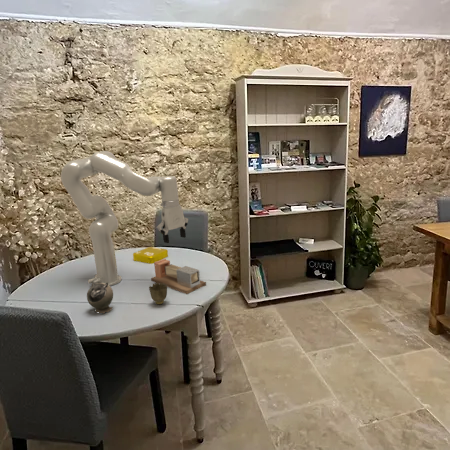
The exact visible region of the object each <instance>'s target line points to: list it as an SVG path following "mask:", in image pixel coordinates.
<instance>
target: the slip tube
mask: <svg viewBox="0 0 450 450" xmlns="http://www.w3.org/2000/svg"><path fill="white" fill-rule="evenodd" d="M182 267H183V266H182ZM182 267H181V266H177V265H174V264H172V263H170V265H168V266H165V274H166V275H168V276H171V277H174V278H177V271H176V270H177V269H179V268H182ZM195 281H198V277H197V272H196V273H194V274H192V275H191V283H193V282H195Z"/></svg>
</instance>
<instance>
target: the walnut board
mask: <svg viewBox="0 0 450 450" xmlns="http://www.w3.org/2000/svg"><path fill="white" fill-rule="evenodd" d="M150 281H151V282H152V283H154V284H156V283H158V284H160V283H161V284H162V283H165V284H167V288H169V289H171V290H174V291H177V292H180V293H182V294H185V295H189V294H190V293H192V292H194V291H197V290H199V289H201V288H203V287H205V286H207V282H206V281H203V280H201V279H200V285H197V286H195V287H193V288H188V287H185V286H183V285H180V284H178V282H177V278H174V277H171V276H168V275H167V276H165V277H162V278H159V277H156V275H155V276H152V277H151V278H150Z"/></svg>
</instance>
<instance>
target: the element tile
mask: <svg viewBox="0 0 450 450" xmlns="http://www.w3.org/2000/svg"><path fill="white" fill-rule="evenodd" d="M168 251H169V250H168V249H167V248H160V247H154V246H148V247H146V248H145V247H144V248H143V249H141V250H138V251H136V252H133V254H132V257H133V261H134V262H139V263H144V264H149V265H150V264H151V265H152V264H154V262H157V261H160V260H162V259H166V258H168V257H169V252H168Z"/></svg>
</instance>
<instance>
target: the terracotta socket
mask: <svg viewBox="0 0 450 450" xmlns="http://www.w3.org/2000/svg"><path fill="white" fill-rule="evenodd" d="M153 264H154V274H155V276H156V277H159V278H162V277H165V276H167V275H166V274H165V266H168V265H171V261H170V260H168V259H166V258H164V259H162V260H160V261H157V262H154V263H153Z"/></svg>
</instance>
